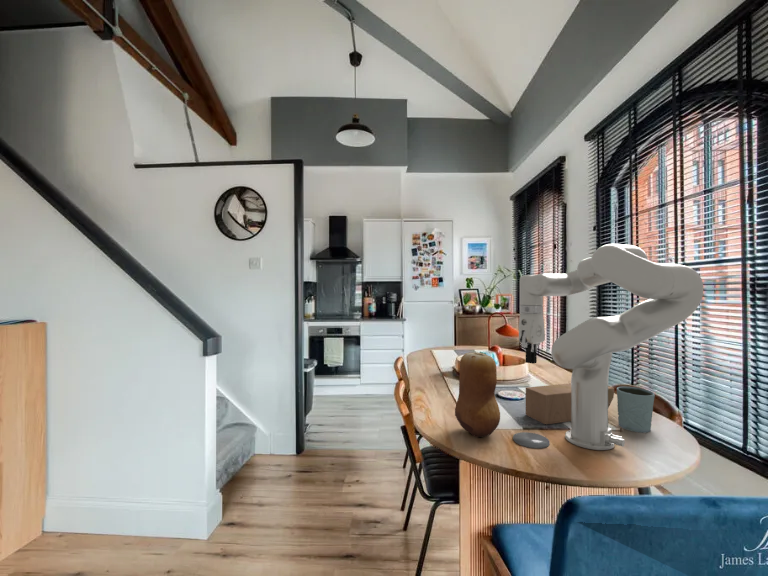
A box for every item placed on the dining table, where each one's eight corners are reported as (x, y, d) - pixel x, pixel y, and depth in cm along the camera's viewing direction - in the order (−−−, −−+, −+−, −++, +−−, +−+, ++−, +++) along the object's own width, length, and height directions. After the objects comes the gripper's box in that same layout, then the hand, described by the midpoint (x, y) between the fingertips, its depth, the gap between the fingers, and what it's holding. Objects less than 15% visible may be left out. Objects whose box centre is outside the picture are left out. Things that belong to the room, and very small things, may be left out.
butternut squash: (508, 434, 112) (508, 353, 112) (485, 447, 102) (485, 359, 103) (470, 422, 122) (470, 348, 122) (445, 433, 113) (445, 352, 113)
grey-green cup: (616, 419, 124) (616, 384, 124) (652, 425, 119) (652, 389, 119) (617, 429, 115) (617, 392, 115) (656, 436, 110) (656, 397, 110)
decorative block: (525, 387, 129) (591, 381, 138) (525, 415, 129) (591, 407, 138) (545, 395, 119) (614, 387, 128) (545, 424, 119) (614, 415, 128)
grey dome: (555, 442, 106) (555, 439, 106) (538, 451, 100) (538, 449, 100) (524, 431, 114) (524, 429, 114) (506, 439, 108) (506, 437, 108)
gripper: (530, 311, 119) (530, 367, 119) (551, 310, 128) (551, 361, 128) (509, 310, 124) (509, 363, 124) (531, 309, 134) (531, 358, 134)
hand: (531, 362), depth 126 cm, fingers closed
